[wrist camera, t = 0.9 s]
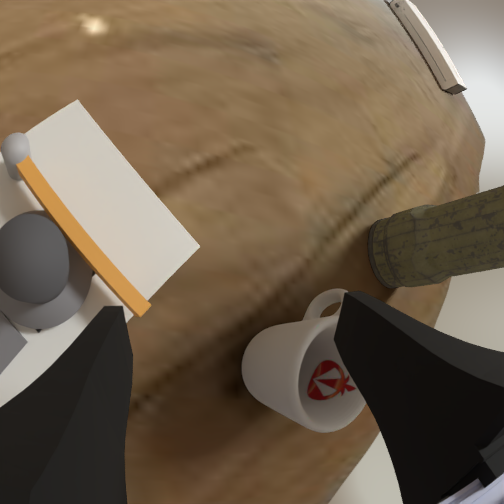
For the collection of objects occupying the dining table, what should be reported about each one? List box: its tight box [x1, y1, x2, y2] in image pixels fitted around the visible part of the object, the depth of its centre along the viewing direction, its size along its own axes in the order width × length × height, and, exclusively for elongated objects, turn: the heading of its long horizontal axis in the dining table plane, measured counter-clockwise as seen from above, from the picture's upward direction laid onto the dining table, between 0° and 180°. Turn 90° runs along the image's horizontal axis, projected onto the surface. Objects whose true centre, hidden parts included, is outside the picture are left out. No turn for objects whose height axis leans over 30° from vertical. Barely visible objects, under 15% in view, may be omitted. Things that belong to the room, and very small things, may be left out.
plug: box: [0, 210, 92, 329], centre depth 15 cm, size 7×7×7 cm
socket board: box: [0, 100, 200, 407], centre depth 16 cm, size 20×14×3 cm
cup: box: [242, 288, 366, 433], centre depth 23 cm, size 11×8×8 cm
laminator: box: [389, 0, 467, 94], centre depth 70 cm, size 34×12×6 cm, turn 25°
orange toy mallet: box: [1, 133, 151, 317], centre depth 16 cm, size 2×13×3 cm, turn 48°
